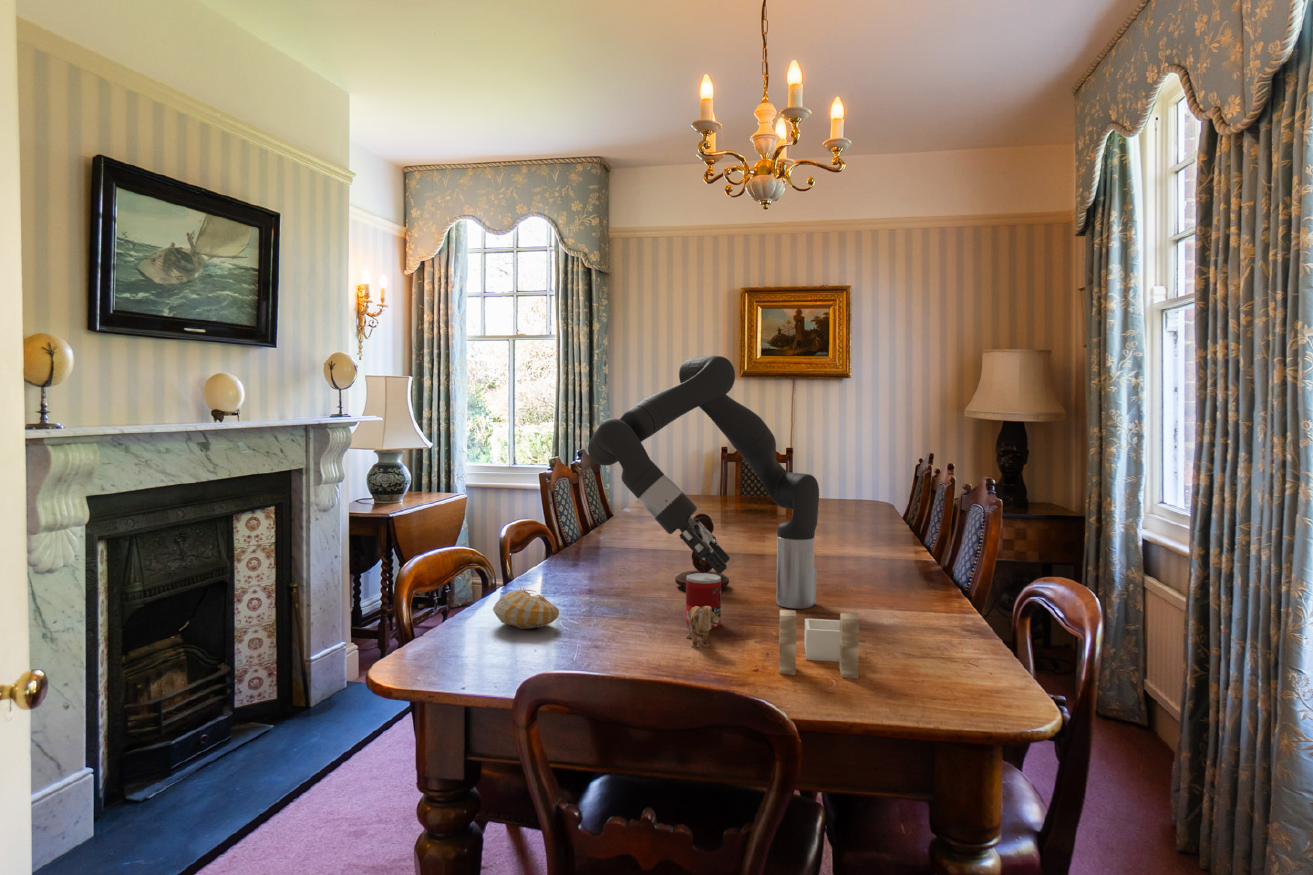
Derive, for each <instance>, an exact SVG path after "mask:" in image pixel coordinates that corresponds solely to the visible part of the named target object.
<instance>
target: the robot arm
mask: <svg viewBox="0 0 1313 875" xmlns="http://www.w3.org/2000/svg"><path fill="white" fill-rule="evenodd" d="M735 371H736V370H735V367H734V366H733V364H732V363H731V361H730V360H729V359H728V358H726V357H724V356H721V355H708V356H707V355H706V356H697V357H692V358H689V359H687V360H685V361H684V362H682V364H680V368H679V372H678V375H679V376H678V377H679V382H680V383H679V384H676V385H674V386H672V387H669V388H667V389H663V390H661V391H659V392H656V393H654V394H652V395H650V396H648V397H646V398H644V399H643V400H641V401H639V402H638V403H637V404H634V406H632V407H630V408H628V410H626V411H625V412H624V413H623V414H622V416H620V418H615V417H611V418H607V419H605V420H603V421H602V422H601V423H600V425H599V426H598V427H597V429H596V430H595V432H594V433H593V435H592V436H591V437H590V439H589V441H588V442H589V443H588V444H587V452H588V456H589V457H590V459H591V460H592V462H594V463H596V464H597V465H600V466H611V465H614V464H616V463H618V464H620V466H621V469H622V472H621V480H622V483H623V485H625V487H626V488H627V489H628V490H629V491H630V492H631V493H632V494H633V495H634V496H635V498H637V499H638V501H639V502H640V503H641V505H642V506H643V507H644V509H645V511H647V512H648V514H650V516H652V518H653V519H654V520H655V521H656V522H657V523H658V524H659V525H660V527H661V528H663V529H664V531H665V532H666V533H667V534H668V535H672V534H673V533H674V532H676V530H679V531H680V534H679V538H680V540H682V541H683V542H684V543H685V544H686V545H687V546H688V547H689V548H690V550H691V551H692V552H694V553H695V554H696V555H697V556H698V558H700V559H703V560H705V559H706V561H707V562H708V564H709V565H710V566H711V567H712V570H713V571H714V572H717V573H718V574H723V572H724V571H726V570H727V567H728V566H727V563H728V562H729V561H730V558H731V557H730V556H729V555H728V553H727V552H726V551H724V549H723V548H722V547H721V546H720V545H719V544H718V541H717V538H716V536H715V535H713V533H712V534H711V533H710V532H709V530H708V529H707V528H706V527H705V526H704V525H703V524H702V523H701V522H700V521H699V519H697V518H695V519H694V520H693V518H692V516H693V515H694V513H695V512H697V510H698V507H697V506H696V505H695V503H694V502H693V501H692V500H691V499H690V498H689V497H688V496H687V495H686V494H685V493H684V492H683V490H681V488H680V487H679V486H678V485H677V484H676V483H675V482H674V481H672V480H671V479H670V478H669V477H668V476H666V475H665V473H664V472H663V471H662V470H661V469H660V467H658V465H657V464H656V463H654V462H653V460H651V458H650V456H649V454H648V453H647V451H646V449H645V447H644V445H643V444H642V442H643V441H645V440H646V439H648V438H650V437H652V436H653V435H654V434H656V433H657V432H659V431H661V430H662V429H663V428H665V427H667V425H669V424H670V423H672V422H673V421H675V420H676V419H678V418H681V417H682V416H683V415H685V414H687V413H689V412H690V411H692V410H694V409H696V408H698V407H699V408H700V409H701V410H702V411H703V412H704V413H705V414H706V415H707V416H708V417H709V418H710V419H711V420H712V422H713V423H714V424H715V425H716V427H717V428H718V429H719V430H720V431H721V433H722V434H723V435H724V436H725V437H726V438H727V440H728V441H729V443H730V444H731V445H732V447H733V448H734V449H735V451H737V453H738V454H739V456H741V458H742V459H743V460H744V461H745V462H746V463H747V465H748V466H749V467H750V468H751V470H752V471H753V473H754V474H755V475H756V476H757V478H758V479H759V481H760V482H761V484H762V485H763V488H764V489H765V491H766V492H767V494H768V495H769V497H770V498H771V500H772V502H774V504H775V505H777V507H780V508H782V509H788V510H792V511H793V512H792V518H791V519H790V520H789V521H785V522H781V523H779V524H778V525H777V532H776V533H777V534H776V535H777V536H776V590H775V591H776V597H775V599H776V605H777V606H780V607H783V608H787V609H796V610H798V609H800V610H801V609H809V608H812V607H813V606H814V605H816V604H817V567H816V565H815V532H816V528H817V525H818V514H819V505H820V504H819V502H820V500H819V499H820V488H819V483H818V480H817V479H816V478H815V476H814V475H812V474H810V473H809V474H808V473H801V472H800V473H799V472H789V471H788V470H786V469H785V468H784V466H782V464H780V462H779V461H778V460H777V458H776V457H777V456H776V453H777V441H776V439H775V436H774V434H773V432H772V431H771V429H770V428H769V427H768V425H767V424H766V422H765V421H764V420H763V419H762V418H761V417H760V416H759V415H758V414H757V413H755V412H754V411H753V410H752V409H749V408H748V407H746V406H744V405H743V404H741V403H740V402H738V401H736V400H734V399H732V397H730V396H729V395H728V393H729V392H730V391H731V390H732V389H733V387H734V384H735V380H736V372H735ZM705 533H706V534H705Z"/></svg>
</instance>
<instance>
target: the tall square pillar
mask: <svg viewBox="0 0 1313 875" xmlns="http://www.w3.org/2000/svg"><path fill="white" fill-rule="evenodd" d="M778 630H779V634H778V635H779V638H778V640H779V641H778V645H779V646H778V674H779V675H791V676H792V675H793V676H795V675H796V669H797V667H796V666H797V665H796V664H797V663H796V661H797V660H796V659H797V658H796V657H797V611H796V610H792V609H789V610H788V609H779V629H778Z"/></svg>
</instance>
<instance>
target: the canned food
mask: <svg viewBox="0 0 1313 875" xmlns="http://www.w3.org/2000/svg"><path fill="white" fill-rule="evenodd" d="M695 606H698V607H703V606H710V607H711V608H712V612H714V613H715V615H716V616H718V617H719V618H720V619H719V621H718V622H717V625H716V626H714V625H712V627H711V629H715V628H718V627H719V626H720V625H721V624H720V623H721V620H722V617H721V616H722V613H721V612H722V610H721V608H722V607H721V606H722V591H721V577H720V576H718V575H715V574H709V573H695V574H690V575H688V576H687V578H686V591H685V621H686V624H687V625H688V626H689V613H690V611H691V609H692V608H693V607H695Z"/></svg>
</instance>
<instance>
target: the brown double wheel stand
mask: <svg viewBox="0 0 1313 875" xmlns="http://www.w3.org/2000/svg"><path fill="white" fill-rule="evenodd" d="M695 518H697V519H699V521H700V522H701V523H702V524H703V525H704V526H705V527H706V528H707V529H708V530H709V532H710V533H711V534H712V535H713V532H714V528H715V526H714V523H713V521H712V520H713V519H712V518H711V516H709V514H706V513H698V514H696V515H695V516H693V518H692V519H693V520H694V519H695ZM705 534H706V533H705ZM691 560H692V565H693V568H694V569H695V570H688V571H684V572H681V573H680V574H678V575H676V576H675V581H674V583H675V584H676V585H678V586H680V587H683V591H684V592H686V578H687V576H688V575H690V574H695V573H709V574H715V575H718V576H720V577H721V592H722V591H723V587H726V586H728V585H729V583H730V578H729V577H728V576H726V575H725V574H724V573H721V574H718V573H717V572H716V571H715V570H713V568H712V567H711V566H710V565H709V564H708V562H707V561H706V559H705V560H703V559H700V558H698V556H697V555H696V554H695V553H694V552H693V551H692V553H691Z"/></svg>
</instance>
